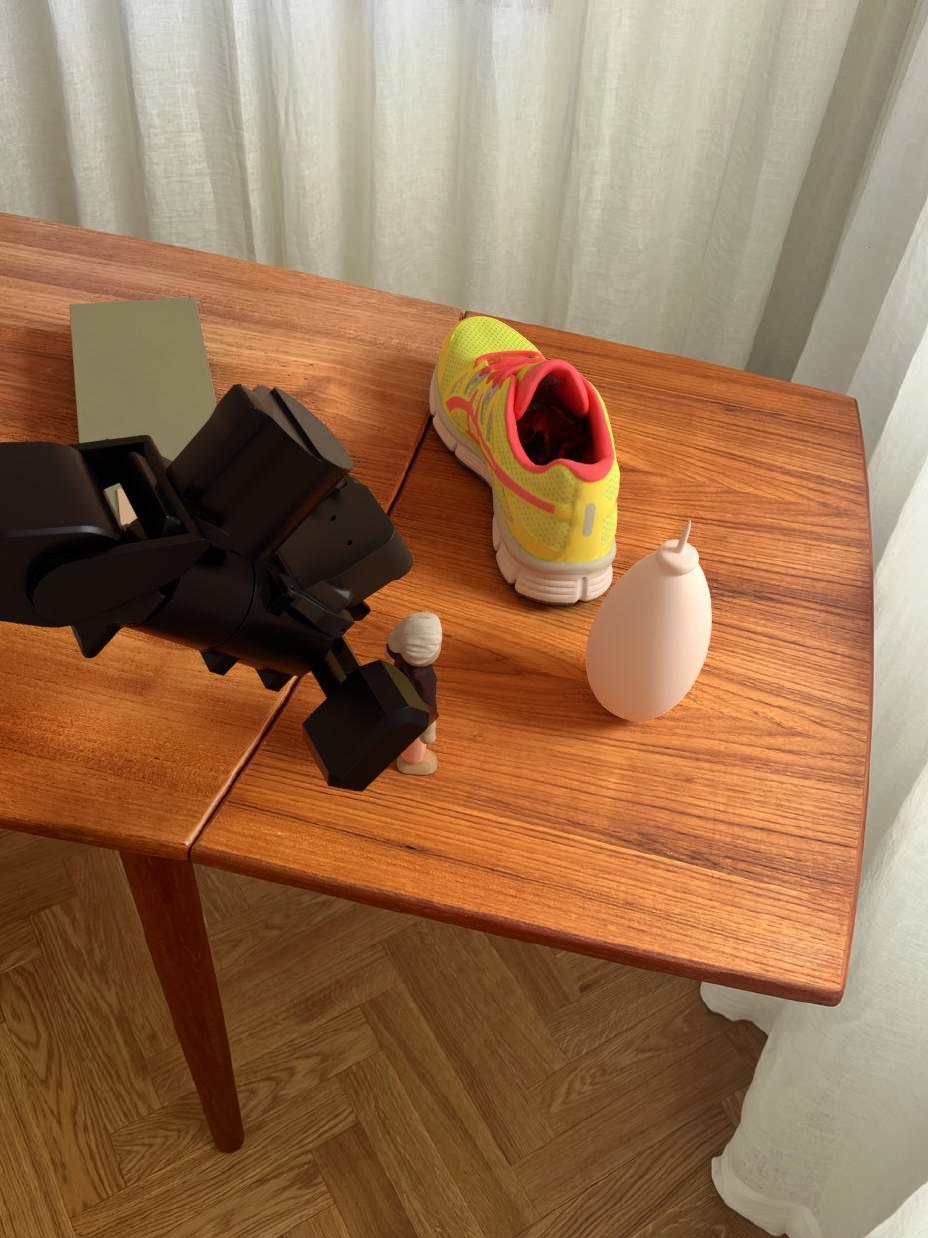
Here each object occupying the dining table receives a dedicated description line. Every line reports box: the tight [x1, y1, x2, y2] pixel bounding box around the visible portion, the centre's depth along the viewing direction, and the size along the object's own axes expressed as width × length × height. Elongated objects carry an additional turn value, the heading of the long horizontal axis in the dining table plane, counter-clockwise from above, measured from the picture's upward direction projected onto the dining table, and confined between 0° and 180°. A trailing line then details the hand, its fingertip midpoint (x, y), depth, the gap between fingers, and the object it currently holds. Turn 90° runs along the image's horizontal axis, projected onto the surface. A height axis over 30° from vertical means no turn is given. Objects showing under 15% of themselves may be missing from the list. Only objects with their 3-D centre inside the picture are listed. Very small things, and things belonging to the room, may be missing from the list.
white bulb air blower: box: [585, 519, 713, 722], centre depth 73 cm, size 8×8×18 cm
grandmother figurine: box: [383, 611, 443, 776], centre depth 71 cm, size 8×4×13 cm, turn 33°
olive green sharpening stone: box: [68, 296, 218, 525], centre depth 92 cm, size 32×11×4 cm, turn 15°
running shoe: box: [428, 315, 621, 607], centre depth 90 cm, size 12×31×14 cm, turn 18°
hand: (398, 664), depth 68 cm, fingers open, 9 cm apart
